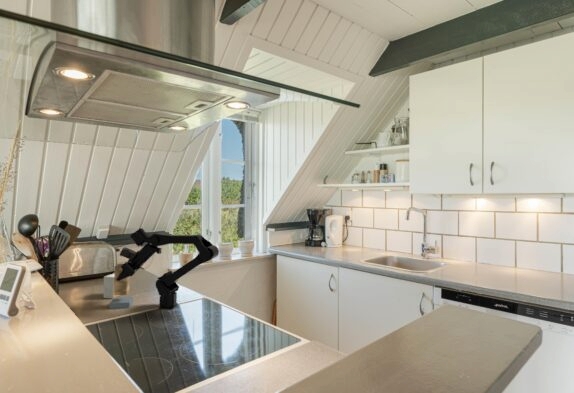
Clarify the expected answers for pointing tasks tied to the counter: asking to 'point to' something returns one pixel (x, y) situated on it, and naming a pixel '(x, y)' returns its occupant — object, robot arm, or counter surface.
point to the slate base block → (121, 302)
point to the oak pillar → (120, 282)
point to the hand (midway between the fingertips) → (118, 278)
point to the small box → (109, 286)
